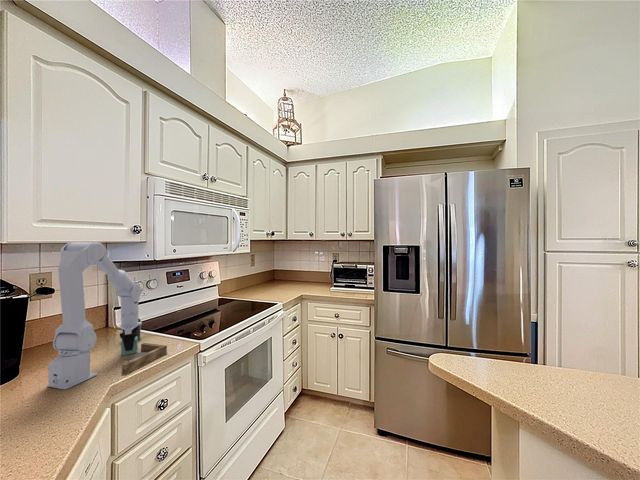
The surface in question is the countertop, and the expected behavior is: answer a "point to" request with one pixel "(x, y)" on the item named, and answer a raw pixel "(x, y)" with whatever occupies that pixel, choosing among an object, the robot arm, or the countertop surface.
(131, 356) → the mat
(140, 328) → the supplement bottle
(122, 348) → the cube
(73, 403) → the countertop surface
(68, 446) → the countertop surface
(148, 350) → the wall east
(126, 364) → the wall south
